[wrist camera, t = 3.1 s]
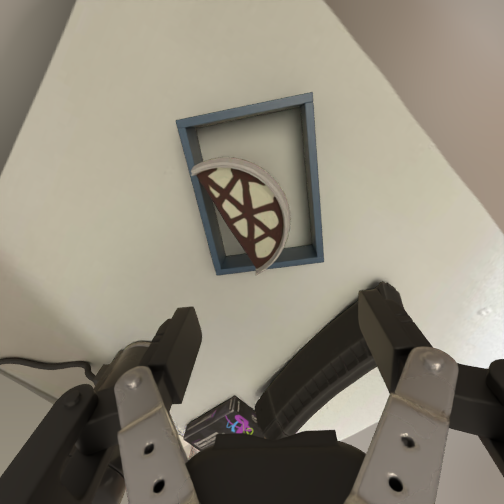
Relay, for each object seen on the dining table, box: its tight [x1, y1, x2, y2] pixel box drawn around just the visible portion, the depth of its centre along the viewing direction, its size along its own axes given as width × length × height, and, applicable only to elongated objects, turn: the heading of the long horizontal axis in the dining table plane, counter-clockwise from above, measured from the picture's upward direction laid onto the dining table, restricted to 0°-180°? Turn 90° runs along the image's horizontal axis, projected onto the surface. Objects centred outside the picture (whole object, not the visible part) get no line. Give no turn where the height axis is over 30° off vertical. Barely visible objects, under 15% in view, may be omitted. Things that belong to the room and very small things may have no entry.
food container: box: [191, 157, 291, 275], centre depth 28 cm, size 12×6×10 cm, turn 30°
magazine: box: [255, 281, 404, 440], centre depth 37 cm, size 17×3×30 cm
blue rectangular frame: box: [176, 92, 324, 275], centre depth 31 cm, size 14×18×4 cm
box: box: [183, 396, 264, 451], centre depth 52 cm, size 14×4×20 cm
